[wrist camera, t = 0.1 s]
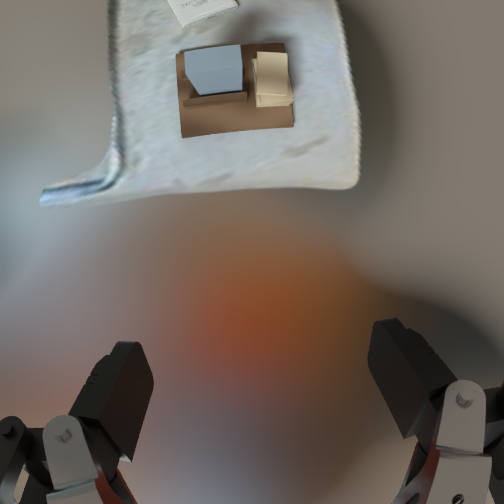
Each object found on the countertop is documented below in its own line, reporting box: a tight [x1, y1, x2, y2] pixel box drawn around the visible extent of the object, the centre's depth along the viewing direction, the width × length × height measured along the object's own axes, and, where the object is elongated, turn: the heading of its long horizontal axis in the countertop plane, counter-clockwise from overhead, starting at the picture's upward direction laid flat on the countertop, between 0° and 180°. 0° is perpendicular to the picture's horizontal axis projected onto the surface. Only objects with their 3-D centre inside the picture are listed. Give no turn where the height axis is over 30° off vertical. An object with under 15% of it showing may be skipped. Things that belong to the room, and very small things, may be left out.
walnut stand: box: [176, 43, 294, 138], centre depth 30 cm, size 12×14×4 cm
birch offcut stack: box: [252, 52, 294, 107], centre depth 28 cm, size 7×4×4 cm, turn 5°
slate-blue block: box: [184, 44, 242, 97], centre depth 25 cm, size 2×5×11 cm, turn 95°
